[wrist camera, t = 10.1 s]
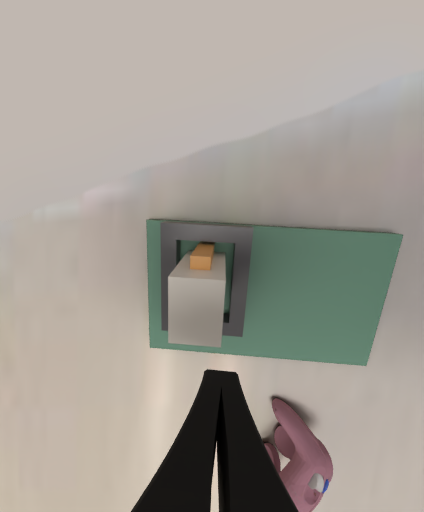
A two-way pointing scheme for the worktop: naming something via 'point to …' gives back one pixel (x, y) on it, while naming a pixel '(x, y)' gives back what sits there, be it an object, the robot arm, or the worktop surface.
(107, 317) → the worktop surface
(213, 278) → the plug
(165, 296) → the frame
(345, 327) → the circuit board
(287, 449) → the pink toy figure
